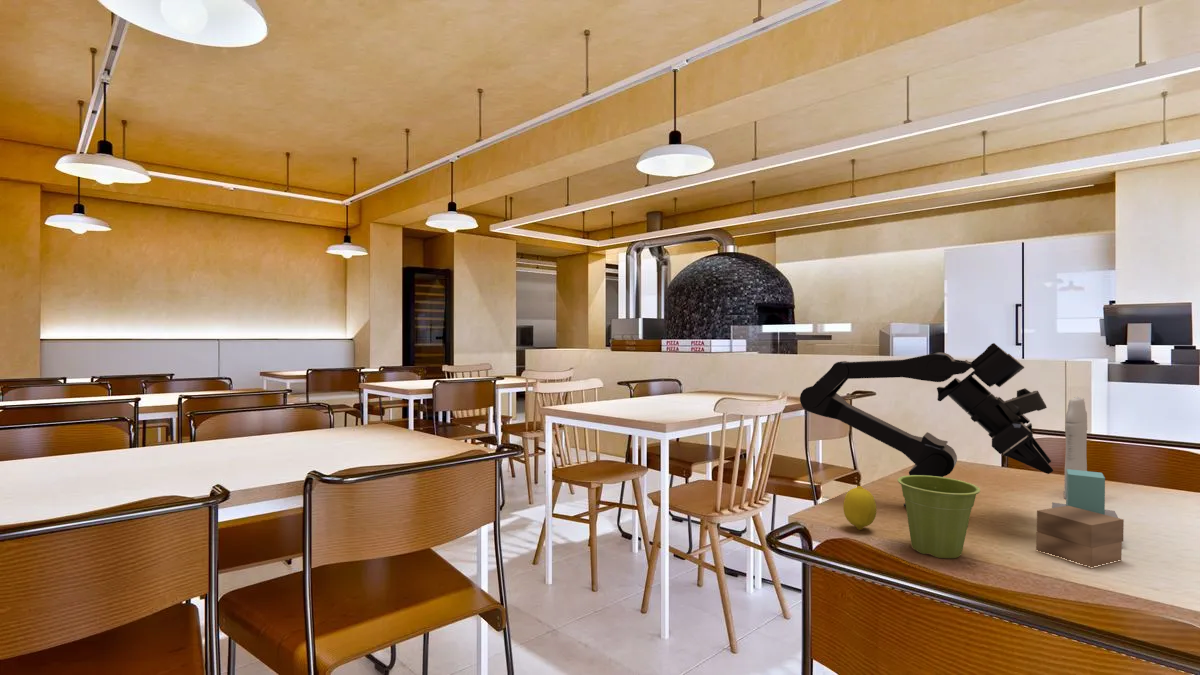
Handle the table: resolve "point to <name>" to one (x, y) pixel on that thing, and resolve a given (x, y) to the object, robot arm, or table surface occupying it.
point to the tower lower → (1078, 550)
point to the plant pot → (938, 513)
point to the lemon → (859, 507)
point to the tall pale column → (1075, 437)
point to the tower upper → (1080, 526)
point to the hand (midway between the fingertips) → (1050, 467)
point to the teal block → (1085, 490)
